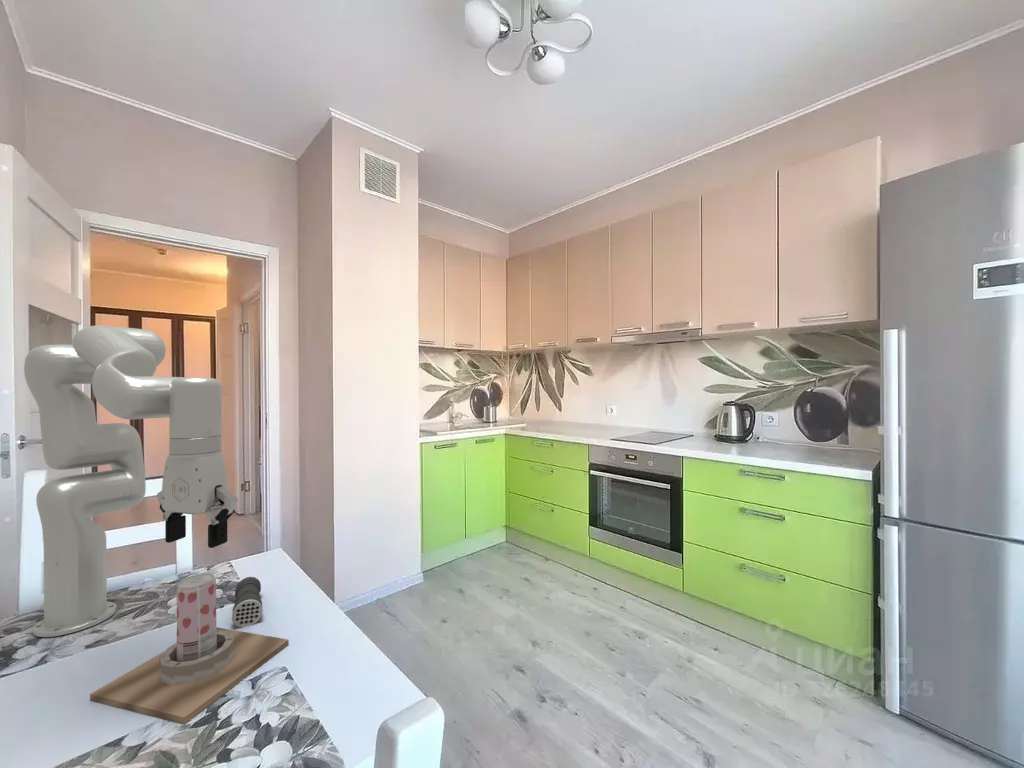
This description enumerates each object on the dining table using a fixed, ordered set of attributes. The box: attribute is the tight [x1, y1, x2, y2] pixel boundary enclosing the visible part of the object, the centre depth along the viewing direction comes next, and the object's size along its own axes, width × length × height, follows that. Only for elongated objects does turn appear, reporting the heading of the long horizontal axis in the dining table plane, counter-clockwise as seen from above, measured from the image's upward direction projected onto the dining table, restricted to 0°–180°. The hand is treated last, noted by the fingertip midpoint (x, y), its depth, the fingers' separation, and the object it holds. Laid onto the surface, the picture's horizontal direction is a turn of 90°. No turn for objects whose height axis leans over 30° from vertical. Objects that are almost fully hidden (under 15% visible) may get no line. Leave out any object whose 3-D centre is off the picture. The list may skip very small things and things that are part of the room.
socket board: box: [89, 626, 290, 725], centre depth 75 cm, size 20×20×4 cm
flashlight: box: [231, 576, 263, 628], centre depth 95 cm, size 15×5×5 cm, turn 32°
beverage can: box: [176, 572, 217, 662], centre depth 75 cm, size 6×6×15 cm
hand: (196, 542), depth 75 cm, fingers open, 9 cm apart
